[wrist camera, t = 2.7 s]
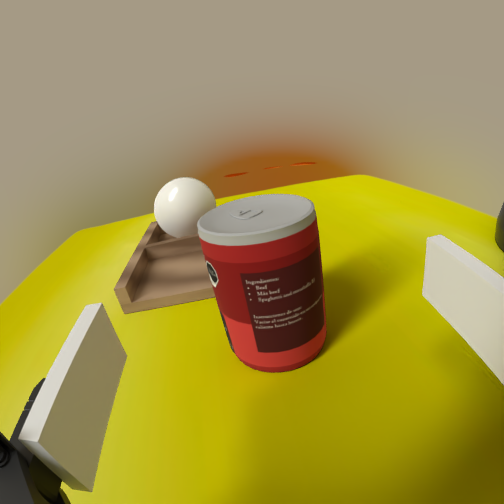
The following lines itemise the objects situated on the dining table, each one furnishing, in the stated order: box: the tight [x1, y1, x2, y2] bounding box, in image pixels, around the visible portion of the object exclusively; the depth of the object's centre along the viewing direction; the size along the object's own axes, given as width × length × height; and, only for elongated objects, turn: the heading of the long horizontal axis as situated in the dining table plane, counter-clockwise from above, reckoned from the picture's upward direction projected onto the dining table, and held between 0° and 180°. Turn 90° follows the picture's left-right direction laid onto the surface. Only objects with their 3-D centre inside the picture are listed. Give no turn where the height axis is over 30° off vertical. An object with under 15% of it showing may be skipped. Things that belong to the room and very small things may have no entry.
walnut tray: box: [114, 221, 215, 314], centre depth 42 cm, size 22×14×3 cm, turn 6°
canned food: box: [197, 194, 327, 372], centre depth 23 cm, size 8×8×11 cm
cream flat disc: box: [154, 177, 216, 238], centre depth 46 cm, size 1×9×9 cm, turn 96°
